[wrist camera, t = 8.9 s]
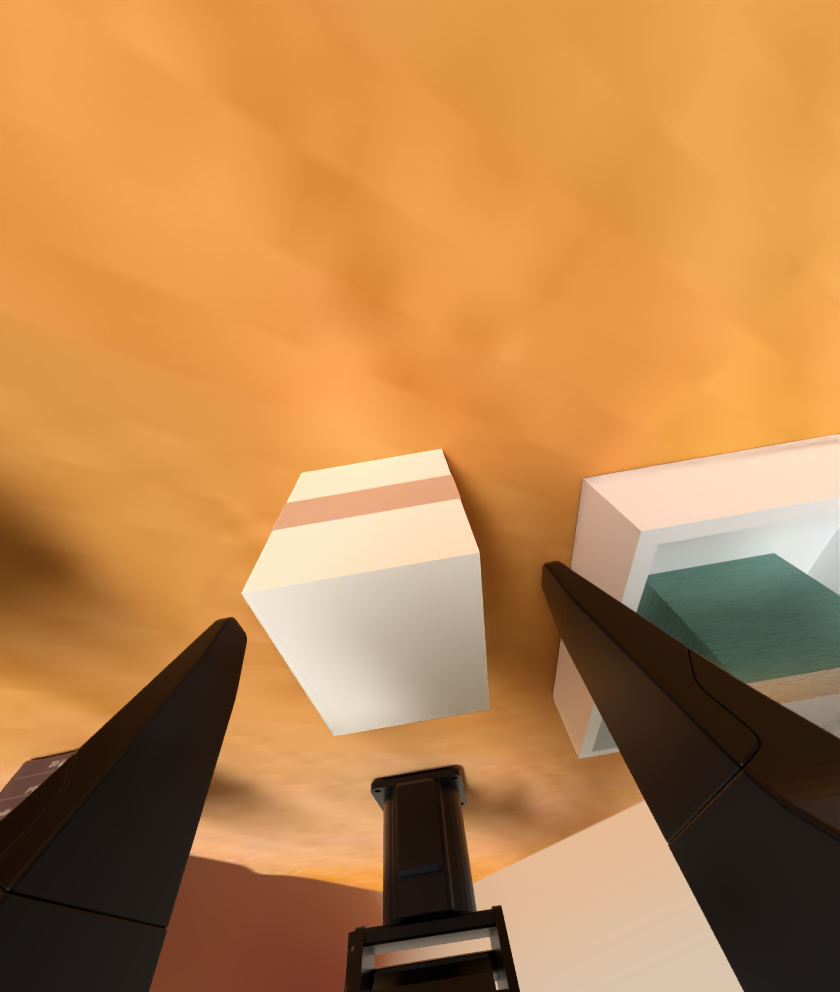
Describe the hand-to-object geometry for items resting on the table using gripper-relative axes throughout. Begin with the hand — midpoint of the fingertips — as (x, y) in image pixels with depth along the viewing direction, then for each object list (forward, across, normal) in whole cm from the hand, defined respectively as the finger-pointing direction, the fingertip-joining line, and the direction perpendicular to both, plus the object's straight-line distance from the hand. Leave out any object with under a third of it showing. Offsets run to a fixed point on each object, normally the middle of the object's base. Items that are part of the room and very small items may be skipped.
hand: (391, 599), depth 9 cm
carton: (+3, 0, 0) cm, 3 cm away
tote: (+3, -12, +6) cm, 14 cm away
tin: (+2, -12, +6) cm, 14 cm away
